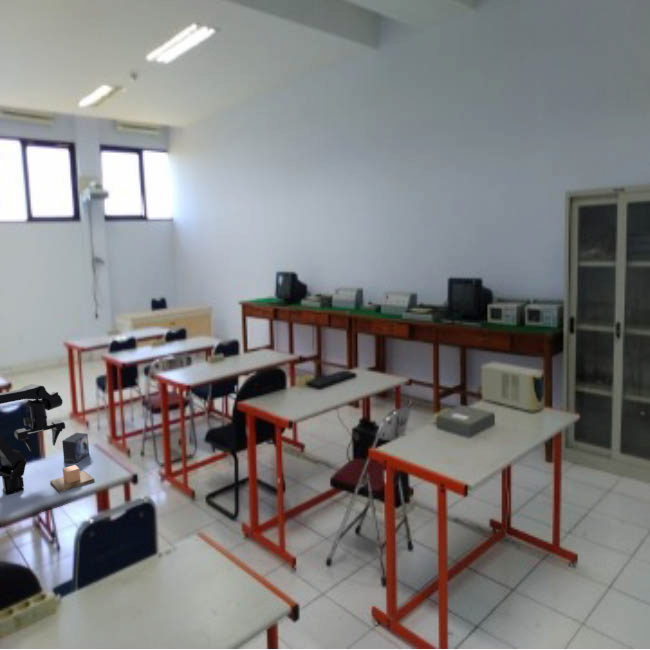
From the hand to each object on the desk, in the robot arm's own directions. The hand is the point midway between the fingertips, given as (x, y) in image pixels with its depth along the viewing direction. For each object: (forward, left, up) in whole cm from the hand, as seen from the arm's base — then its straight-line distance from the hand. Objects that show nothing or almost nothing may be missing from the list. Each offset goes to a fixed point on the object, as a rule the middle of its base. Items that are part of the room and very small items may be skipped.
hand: (42, 448), depth 240 cm
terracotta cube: (+6, -16, -11) cm, 20 cm away
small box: (+16, +8, -12) cm, 22 cm away
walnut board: (+6, -16, -12) cm, 21 cm away
